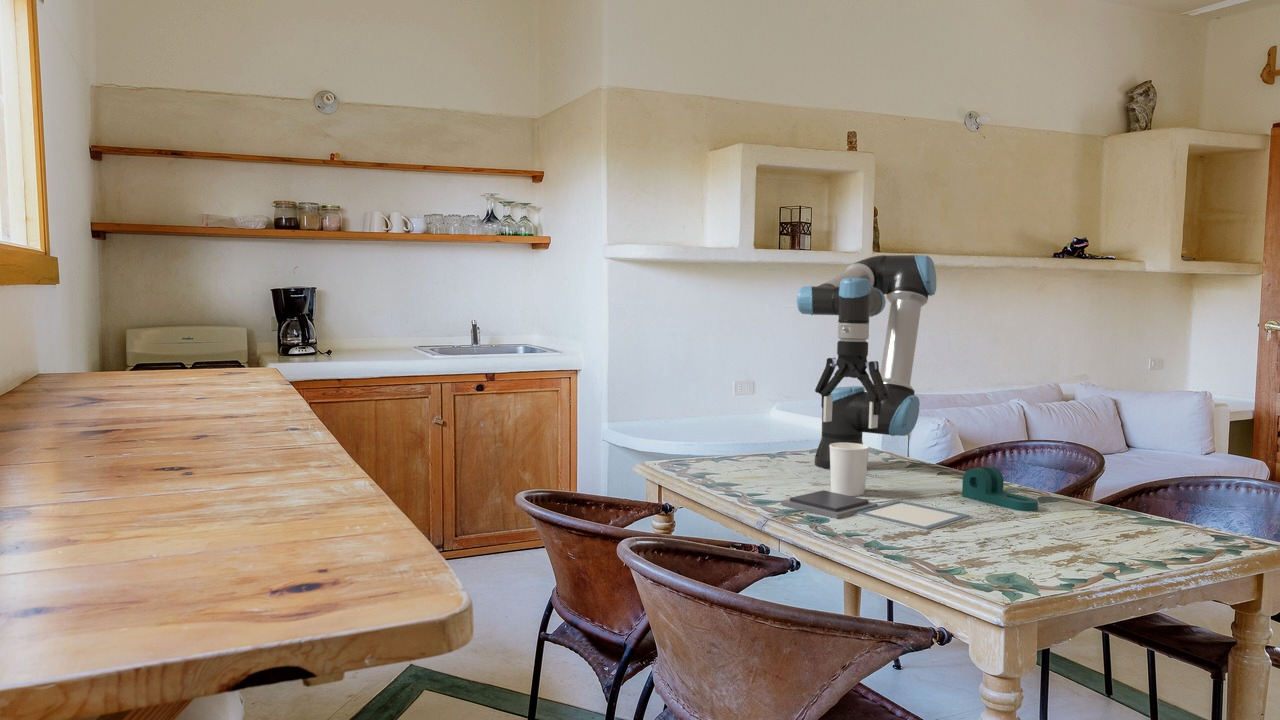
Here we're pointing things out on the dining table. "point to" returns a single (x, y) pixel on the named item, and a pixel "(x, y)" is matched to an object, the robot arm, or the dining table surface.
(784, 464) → the dining table surface
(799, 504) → the ink pad
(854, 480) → the candle holder
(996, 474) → the bracket
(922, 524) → the marked square
